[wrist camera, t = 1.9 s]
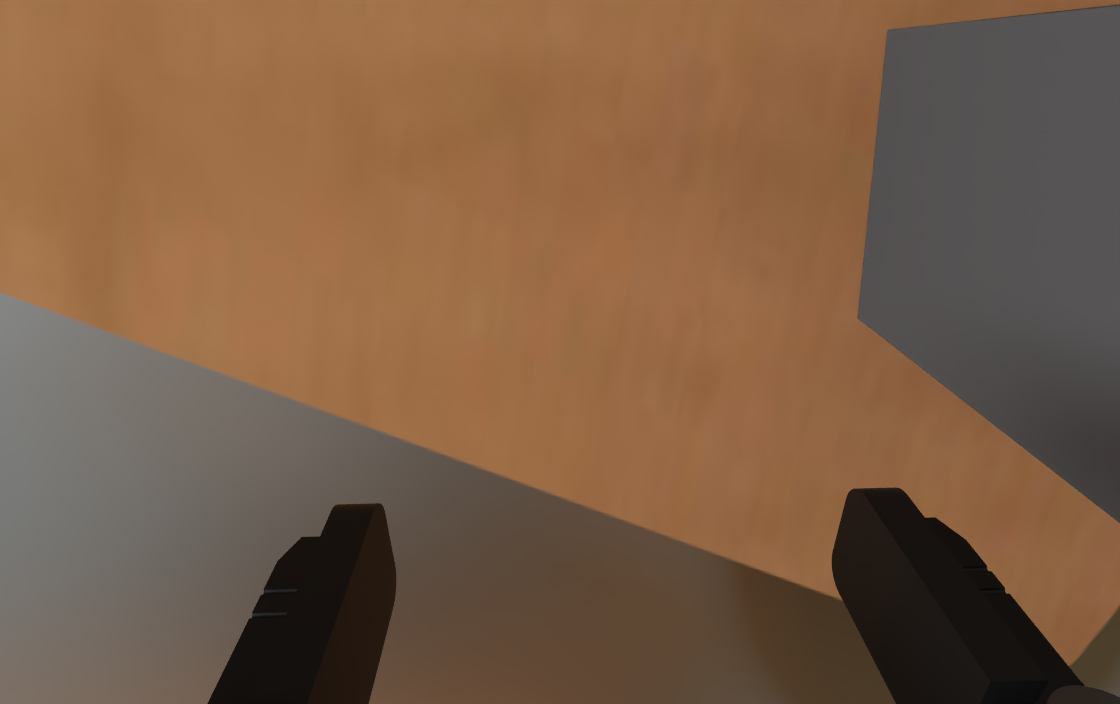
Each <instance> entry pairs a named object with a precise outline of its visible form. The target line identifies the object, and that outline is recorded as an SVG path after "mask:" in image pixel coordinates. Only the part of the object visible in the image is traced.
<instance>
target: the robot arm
mask: <svg viewBox="0 0 1120 704" xmlns="http://www.w3.org/2000/svg"><path fill="white" fill-rule="evenodd" d="M832 571H833V577H834V581H835V584H836V587H837V589H838V592H839V594H840V596H841V598H842V600H843V601H844V603H845V605H846V607H847V609H848V611H849V613H850V615H851V617H852V619H853V621H854V623H855V625H856V627H857V628H858V631H859V633H860V634H861V636H862V638H863V640H864V642H865V644H866V646H867V648H868V650H869V652H870V654H871V656H872V658H873V660H874V662H875V664H876V666H877V668H878V670H879V671H880V673H881V675H882V677H883V679H884V681H885V683H886V685H887V687H888V689H889V691H890V693H891V695H892V697H893V698H894V700H895V702H896V704H1120V697H1118V696H1116V695H1114V694H1111V693H1108V692H1106V691H1103V690H1100V689H1096V688H1093V687H1087V686H1085V685H1084V684H1083V683H1082V682H1081V681H1080V680H1079V679H1078V678H1077V676H1076V675H1075V674H1074V673H1073V672H1072V670H1071V669H1070V668H1069V666H1068V665H1067V664H1066V663H1065V661H1064V660H1063V659H1062V658H1061V657H1060V655H1059V654H1058V653H1057V652H1056V650H1055V649H1054V648H1053V647H1052V645H1051V644H1050V643H1049V642H1048V641H1047V639H1046V638H1045V637H1044V636H1043V634H1042V633H1041V632H1040V631H1039V629H1038V628H1037V627H1036V626H1035V624H1034V623H1033V622H1032V621H1031V620H1030V618H1029V617H1028V616H1027V615H1026V613H1025V612H1024V611H1023V610H1022V608H1021V607H1020V606H1019V605H1018V604H1017V602H1016V601H1015V600H1014V599H1013V597H1012V596H1011V595H1010V594H1006V592H1005V587H1004V586H1003V585H1002V584H1001V583H1000V581H999V580H998V579H997V578H996V576H995V575H994V574H993V573H992V571H988V570H987V565H986V564H985V563H984V562H983V560H982V559H981V558H980V557H979V555H978V554H977V553H976V552H975V550H974V549H973V548H972V547H971V546H970V544H969V543H968V542H967V541H966V540H965V539H964V538H963V537H961V536H960V535H959V534H957V533H956V532H954V531H953V530H952V529H950V528H949V527H948V526H946V525H945V524H943V523H942V522H941V521H939V520H938V519H937V518H925V517H924V516H923V515H922V513H921V512H920V511H919V510H918V508H917V507H916V506H915V504H914V503H913V502H912V500H911V499H910V498H909V496H908V495H907V494H906V493H905V492H904V491H903V490H902V489H900V488H863V489H852V490H851V491H850V492H849V493H848V495H847V498H846V501H845V505H844V509H843V513H842V517H841V521H840V525H839V529H838V533H837V537H836V541H835V545H834V549H833V553H832ZM395 594H396V568H395V562H394V557H393V552H392V546H391V541H390V536H389V531H388V526H387V520H386V515H385V510H384V508H383V506H382V504H379V503H376V504H343V505H341V504H340V505H335V506H334V507H333V509H332V511H331V513H330V515H329V517H328V520H327V522H326V524H325V526H324V529H323V531H322V533H321V536H320V537H301V539H300V540H298V541H297V542H296V544H294V545H293V546H292V547H291V548H290V549H289V550H288V551H287V552H286V553H285V554H284V555H283V556H282V557H281V558H280V559H279V560H278V561H277V564H276V565H275V567H274V570H273V571H272V573H271V576H270V578H269V580H268V582H267V584H266V586H265V588H264V594H263V595H261V596H260V598H259V600H258V602H257V604H256V606H255V608H254V610H253V612H252V613H253V615H252V618H251V619H249V620H248V622H247V625H246V626H245V628H244V631H243V632H242V635H241V637H240V639H239V641H238V643H237V645H236V647H235V649H234V651H233V653H232V655H231V657H230V659H229V661H228V663H227V665H226V667H225V669H224V671H223V673H222V675H221V677H220V679H219V681H218V683H217V686H216V688H215V689H214V691H213V693H212V696H211V698H210V700H209V702H208V704H369V700H370V696H371V692H372V688H373V684H374V680H375V677H376V673H377V669H378V665H379V661H380V657H381V653H382V649H383V645H384V641H385V637H386V634H387V630H388V626H389V621H390V618H391V614H392V610H393V606H394V601H395Z"/></svg>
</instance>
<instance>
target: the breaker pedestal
mask: <svg viewBox="0 0 1120 704" xmlns="http://www.w3.org/2000/svg"><path fill="white" fill-rule="evenodd" d="M858 319H859V320H860V321H862V322H863V323H864V324H866V325H867V326H868V327H869V328H871V329H872V330H873V331H875V332H876V333H877V334H878V335H880V336H881V337H882V338H884V339H885V340H886V341H887V342H889V343H890V344H891V345H892V346H894V347H895V348H896V349H898V350H899V351H900V352H901V353H903V354H904V355H905V356H907V357H908V358H909V359H910V360H912V361H913V362H914V363H916V364H917V365H918V366H919V367H921V368H922V369H923V370H924V371H926V372H927V373H928V374H930V375H931V376H932V377H933V378H935V379H936V380H937V381H939V382H940V383H941V384H942V385H944V386H945V387H946V388H948V389H949V390H950V391H951V392H953V393H954V394H955V395H956V396H958V397H959V398H960V399H962V400H963V401H964V402H965V403H967V404H968V405H969V406H971V407H972V408H973V409H974V410H976V411H977V412H978V413H980V414H981V415H982V416H983V417H985V418H986V419H987V420H988V421H990V422H991V423H992V424H994V425H995V426H996V427H997V428H999V429H1000V430H1001V431H1003V432H1004V433H1005V434H1006V435H1008V436H1009V437H1010V438H1012V439H1013V440H1014V441H1015V442H1017V443H1018V444H1019V445H1020V446H1022V447H1023V448H1024V449H1026V450H1027V451H1028V452H1029V453H1031V454H1032V455H1033V456H1035V457H1036V458H1037V459H1038V460H1040V461H1041V462H1042V463H1044V464H1045V465H1046V466H1047V467H1049V468H1050V469H1051V470H1052V471H1054V472H1055V473H1056V474H1058V475H1059V476H1060V477H1061V478H1063V479H1064V480H1065V481H1067V482H1068V483H1069V484H1070V485H1072V486H1073V487H1074V488H1075V489H1077V490H1078V491H1079V492H1081V493H1082V494H1083V495H1084V496H1086V497H1087V498H1088V499H1090V500H1091V501H1092V502H1093V503H1095V504H1096V505H1097V506H1099V507H1100V508H1101V509H1102V510H1104V511H1105V512H1106V513H1107V514H1109V515H1110V516H1111V517H1113V518H1114V519H1115V520H1116V521H1118V522H1119V523H1120V5H1111V6H1102V7H1093V8H1084V9H1075V10H1066V11H1056V12H1047V13H1038V14H1029V15H1020V16H1011V17H1002V18H993V19H983V20H974V21H965V22H956V23H947V24H938V25H929V26H919V27H910V28H901V29H892V30H888V33H887V42H886V52H885V61H884V71H883V81H882V90H881V100H880V109H879V119H878V128H877V138H876V148H875V157H874V167H873V176H872V186H871V195H870V205H869V215H868V224H867V234H866V243H865V253H864V263H863V272H862V282H861V291H860V301H859V310H858Z"/></svg>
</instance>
